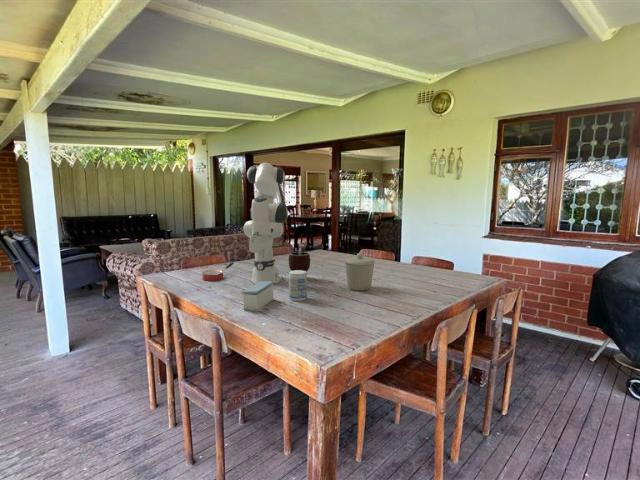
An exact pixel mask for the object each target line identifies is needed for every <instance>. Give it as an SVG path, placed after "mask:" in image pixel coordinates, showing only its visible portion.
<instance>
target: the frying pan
mask: <svg viewBox="0 0 640 480" xmlns="http://www.w3.org/2000/svg"><path fill="white" fill-rule="evenodd" d="M233 265H234V262H233V261H232V262H231V263H229V264H228V265H226V266H225V267H224V268H223V269H221V270H219V269H217V270H216V269H213V270H212V269H211V270H206V271H203V272H202V273H201V274H202V277H201V278H202V280H203V281H204V282H217V281H221V280H223V279H224V271H225V270H227V269H229V268H230V267H232V266H233Z"/></svg>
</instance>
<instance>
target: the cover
mask: <svg viewBox="0 0 640 480" xmlns="http://www.w3.org/2000/svg"><path fill="white" fill-rule="evenodd" d="M274 284H275V283H274V281H263V282H258V283H256V284H255V283H253V285H251V286H248V287H247V288H245V289H243V290H241V291H240V294H241V295H243V294H258V293H259V292H261V291H262V290H264V289H265V288H267V287H269V286H270V285H274Z"/></svg>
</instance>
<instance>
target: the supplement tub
mask: <svg viewBox="0 0 640 480" xmlns="http://www.w3.org/2000/svg"><path fill="white" fill-rule="evenodd" d="M307 272H308V271H307ZM307 272H306V271H302V270H294V271H291V270H290V271H289V274H288V297H289V300H291V301H294V302H303V301H306V299H308V281H307V277H308V273H307Z"/></svg>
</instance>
